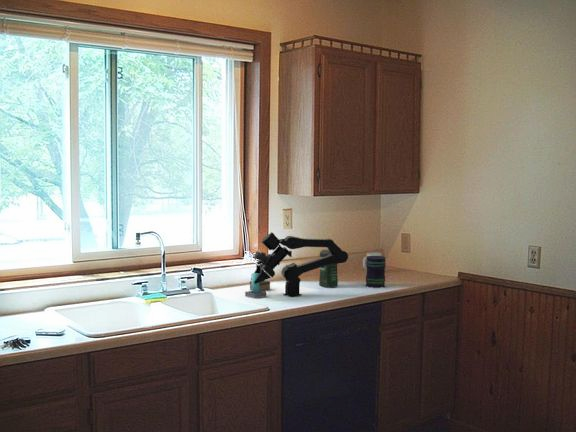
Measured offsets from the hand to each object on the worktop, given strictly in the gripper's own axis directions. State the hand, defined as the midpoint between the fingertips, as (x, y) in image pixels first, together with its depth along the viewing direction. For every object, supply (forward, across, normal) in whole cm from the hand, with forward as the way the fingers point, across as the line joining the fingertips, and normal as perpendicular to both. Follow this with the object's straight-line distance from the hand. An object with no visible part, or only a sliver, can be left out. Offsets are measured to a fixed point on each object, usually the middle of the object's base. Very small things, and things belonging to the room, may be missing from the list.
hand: (252, 281), depth 301 cm
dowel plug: (+4, 0, +6) cm, 7 cm away
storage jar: (-41, -17, +52) cm, 69 cm away
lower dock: (+4, 0, +6) cm, 7 cm away
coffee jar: (-24, -20, +35) cm, 47 cm away
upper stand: (+1, -16, +9) cm, 18 cm away
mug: (-50, -58, +61) cm, 98 cm away
